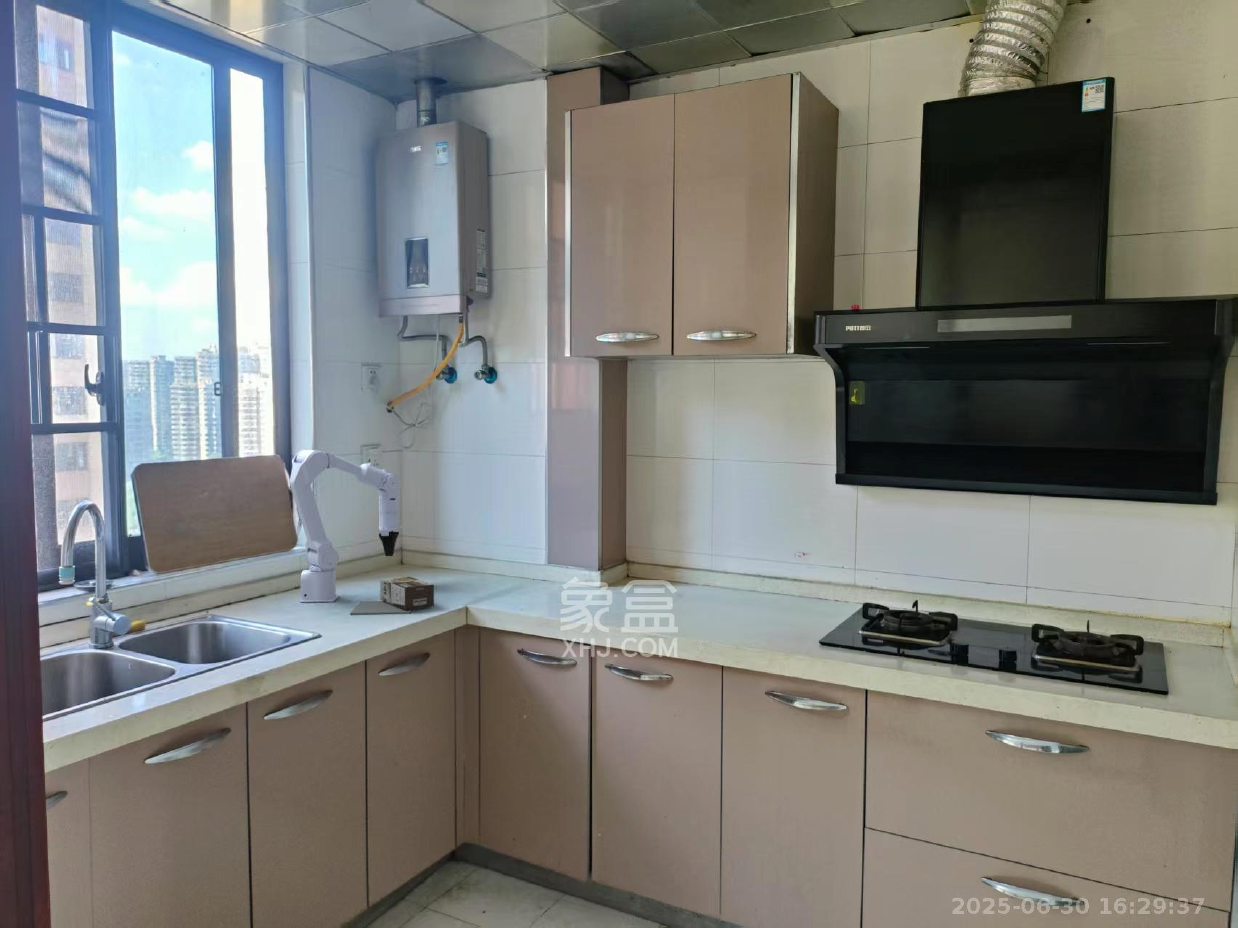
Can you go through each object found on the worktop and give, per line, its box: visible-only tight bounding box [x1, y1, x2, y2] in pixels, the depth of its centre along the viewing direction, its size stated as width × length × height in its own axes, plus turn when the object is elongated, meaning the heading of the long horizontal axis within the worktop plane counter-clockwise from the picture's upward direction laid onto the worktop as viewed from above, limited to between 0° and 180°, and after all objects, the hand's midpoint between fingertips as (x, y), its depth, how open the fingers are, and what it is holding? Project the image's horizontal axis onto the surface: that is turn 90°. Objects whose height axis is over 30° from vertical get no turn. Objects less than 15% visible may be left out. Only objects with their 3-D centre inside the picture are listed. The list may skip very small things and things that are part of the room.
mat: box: [349, 600, 414, 616], centre depth 239 cm, size 16×14×1 cm
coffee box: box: [379, 575, 435, 611], centre depth 243 cm, size 9×6×16 cm
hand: (389, 555), depth 264 cm, fingers closed
